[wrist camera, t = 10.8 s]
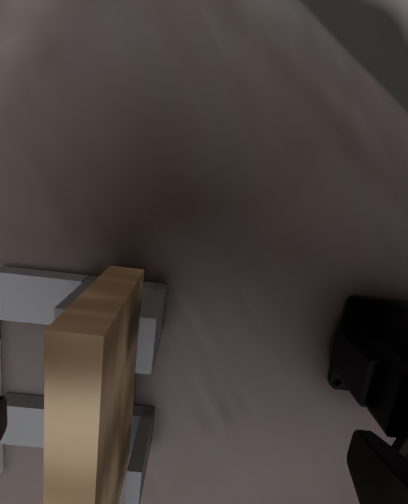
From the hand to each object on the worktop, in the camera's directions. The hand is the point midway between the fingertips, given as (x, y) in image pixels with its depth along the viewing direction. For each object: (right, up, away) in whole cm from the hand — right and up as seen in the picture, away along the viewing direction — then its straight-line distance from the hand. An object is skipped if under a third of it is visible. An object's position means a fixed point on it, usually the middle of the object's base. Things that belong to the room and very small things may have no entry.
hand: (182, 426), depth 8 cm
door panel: (-5, -3, +12) cm, 13 cm away
